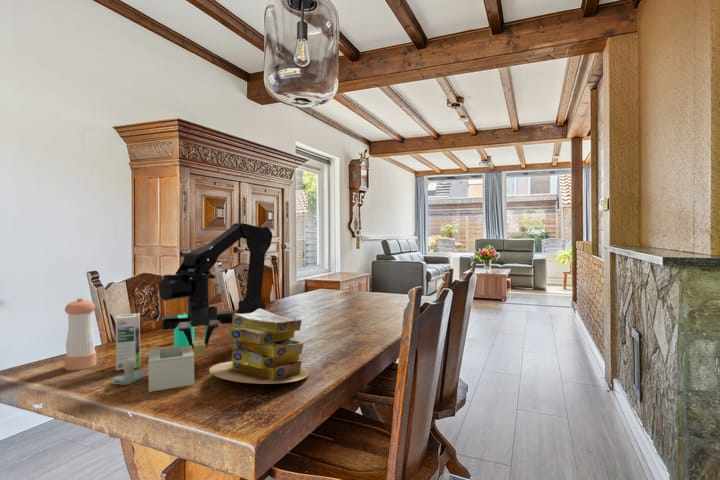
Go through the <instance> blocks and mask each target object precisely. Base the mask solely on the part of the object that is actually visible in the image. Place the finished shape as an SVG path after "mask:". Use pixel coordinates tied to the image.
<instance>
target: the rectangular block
mask: <svg viewBox="0 0 720 480" xmlns="http://www.w3.org/2000/svg"><path fill="white" fill-rule="evenodd" d="M192 344H193V353H194V358H195V357H203V356H207V348H206V344H205V342H204V339H198V340H194V341H192Z"/></svg>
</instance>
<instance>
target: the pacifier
mask: <svg viewBox="0 0 720 480" xmlns="http://www.w3.org/2000/svg"><path fill="white" fill-rule="evenodd" d="M135 365H136V362H135V360H134V359H132V358H130V359H127V360H126V361H125V362H124V364H123V369H122V370H123V371H124V375H120V376H119V375H118V376H113V377H112V379H113V380H112V381H111V384H112V385H121V386H126V385H130V384H133V383H136V382H137V381H138V380H140V379H141V378H143V377H144V376H145V374H146V370H145V369H138V370H135V368H134V367H135Z"/></svg>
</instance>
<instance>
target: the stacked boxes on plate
mask: <svg viewBox="0 0 720 480" xmlns="http://www.w3.org/2000/svg"><path fill="white" fill-rule="evenodd" d="M302 321H303V320H302V319H300V318H296V317H287V316H283V315H282V316H281V315H278V314H275V313H273V312H270V311H268V310H266V309H265V310H264V309H260V308H259V309H257V310H256V311H254V312H252V313H245V314H239V313H234V314H233V323H232V326H230V327H229V329H228V330H229V331H228V339H229V340H234V342H232V344H234V346H231V347H230V349H231V350H232V353H231V360H230V361H226V362H220V363H217V364H214V365H212V366H210V368H209V369H208V371H209V373H210V374H211V375H213V376H214V377H217V378H220V379H223V380H228V381H231V382H236V383H237V382H238V383H244V384H245V383H246V384H258V385H259V384H261V385H262V384H263V385H264V384H267V385H268V384H270V385H272V384H273V385H274V384H286V383H292V382H298V381H300V380H303V379H305V378H307V377H308V376H309V371H308V370H307V369H305V368H304V367H302V360H300V355H301V354H302V353H303V347H304V343H303V342H301V341H296V340H291V339H294V337H295V331H297V332H299V331H300V330H301V326H302Z"/></svg>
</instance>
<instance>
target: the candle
mask: <svg viewBox="0 0 720 480" xmlns="http://www.w3.org/2000/svg"><path fill="white" fill-rule="evenodd" d="M177 316H178V318H184V317H188V314H186V313H183V314H178V315H177ZM189 326H190V330H191V337H192V341H195V327H192V326H191V324H189ZM173 334H174V335H173V339H174V340H173V347H179V346H188V345H189V343H188V340H187V337H186V335H185V334H184V332H183V331H179V329H178V326H177V327H176V328H175V329H173Z"/></svg>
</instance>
